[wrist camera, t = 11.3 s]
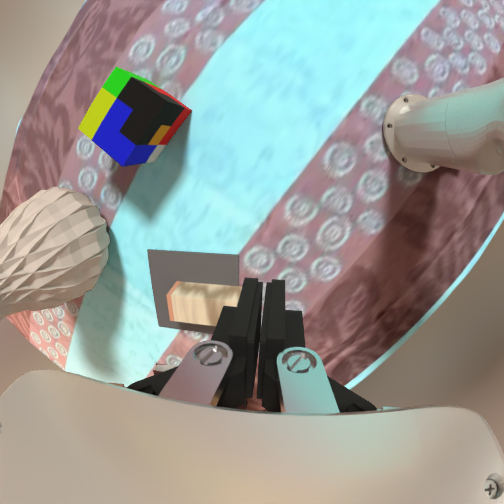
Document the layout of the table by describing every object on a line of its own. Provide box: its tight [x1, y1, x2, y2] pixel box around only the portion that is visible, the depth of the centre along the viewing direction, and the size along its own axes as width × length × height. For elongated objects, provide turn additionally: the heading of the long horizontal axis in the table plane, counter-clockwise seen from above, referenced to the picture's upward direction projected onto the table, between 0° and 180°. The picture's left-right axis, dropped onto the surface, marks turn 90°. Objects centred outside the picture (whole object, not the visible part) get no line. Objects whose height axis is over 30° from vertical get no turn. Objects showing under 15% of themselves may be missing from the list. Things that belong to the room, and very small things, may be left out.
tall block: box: [166, 281, 242, 326], centre depth 45 cm, size 5×5×12 cm
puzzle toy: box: [78, 67, 192, 167], centre depth 33 cm, size 10×10×10 cm
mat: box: [147, 249, 239, 333], centre depth 48 cm, size 16×16×1 cm
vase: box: [0, 187, 110, 320], centre depth 32 cm, size 20×20×30 cm
